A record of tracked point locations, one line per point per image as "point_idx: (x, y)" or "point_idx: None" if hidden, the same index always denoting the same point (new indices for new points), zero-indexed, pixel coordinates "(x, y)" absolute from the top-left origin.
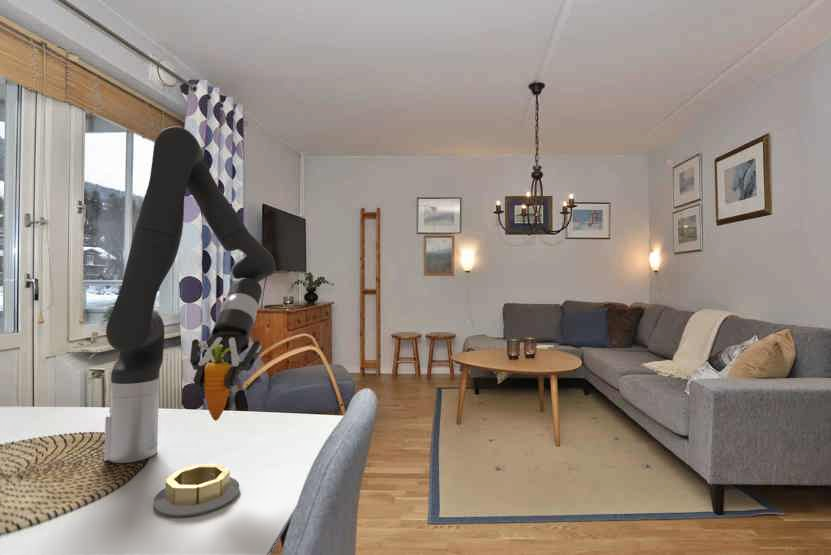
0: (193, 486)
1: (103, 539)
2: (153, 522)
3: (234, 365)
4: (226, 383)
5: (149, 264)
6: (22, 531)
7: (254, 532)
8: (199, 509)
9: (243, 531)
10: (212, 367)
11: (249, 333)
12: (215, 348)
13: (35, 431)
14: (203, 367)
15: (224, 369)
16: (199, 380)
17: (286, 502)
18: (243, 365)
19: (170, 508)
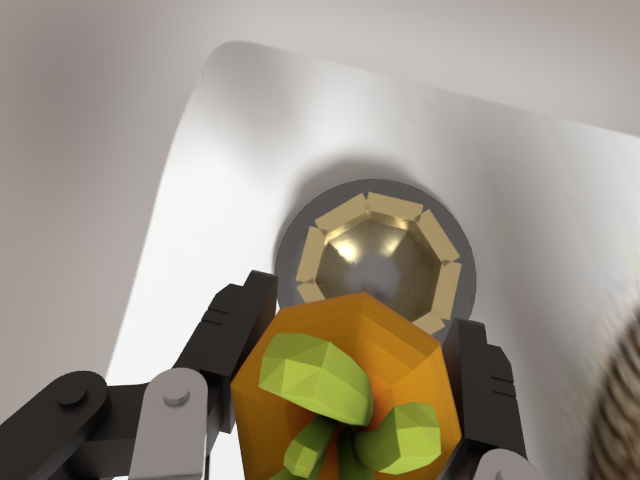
0: (378, 202)
1: (525, 138)
2: (446, 181)
3: (190, 377)
4: (271, 275)
5: None
6: None
7: (236, 89)
8: (354, 181)
9: (257, 98)
10: (377, 311)
11: None
12: None
13: None
14: (474, 433)
15: (277, 315)
16: (459, 326)
17: (167, 194)
18: (113, 391)
19: (421, 203)
